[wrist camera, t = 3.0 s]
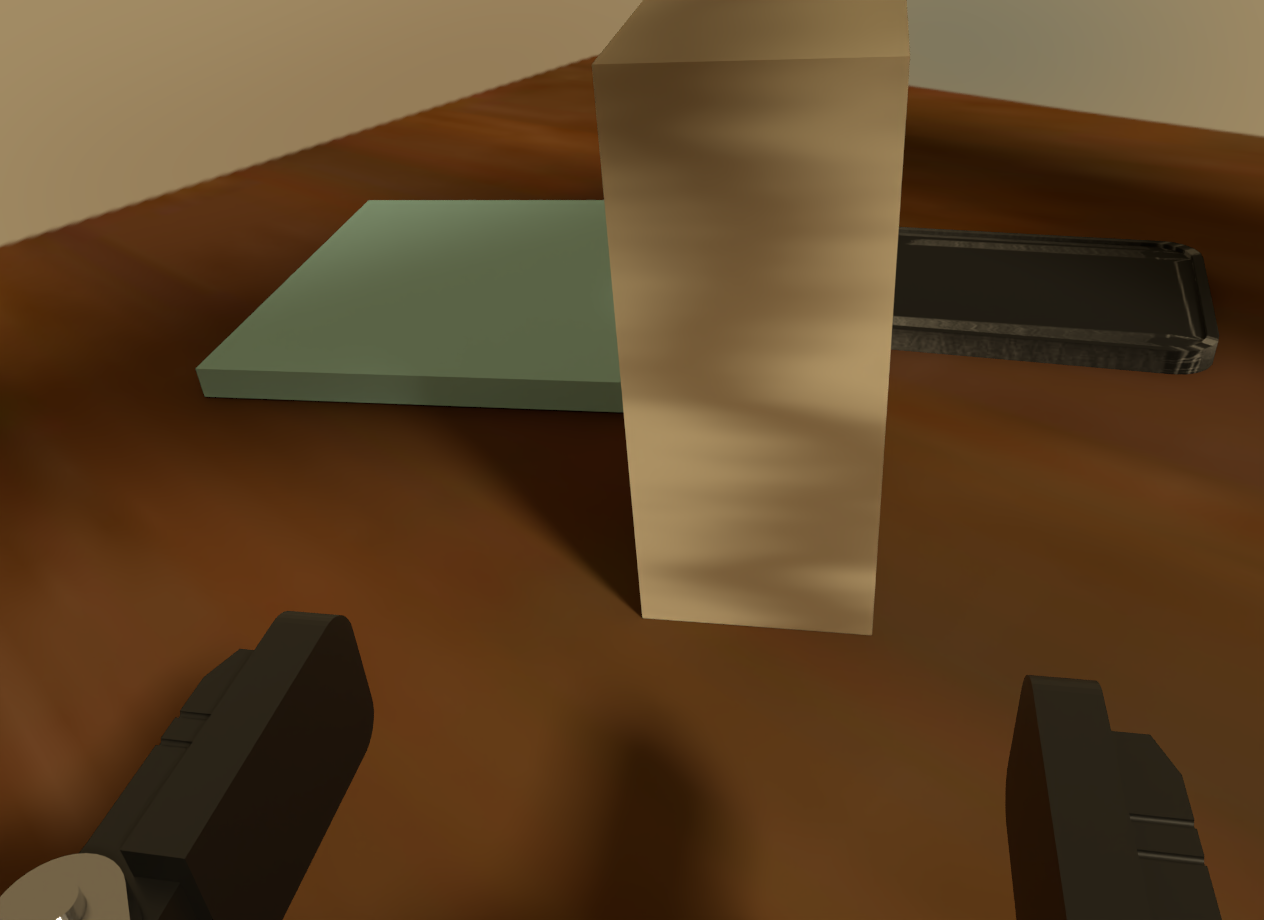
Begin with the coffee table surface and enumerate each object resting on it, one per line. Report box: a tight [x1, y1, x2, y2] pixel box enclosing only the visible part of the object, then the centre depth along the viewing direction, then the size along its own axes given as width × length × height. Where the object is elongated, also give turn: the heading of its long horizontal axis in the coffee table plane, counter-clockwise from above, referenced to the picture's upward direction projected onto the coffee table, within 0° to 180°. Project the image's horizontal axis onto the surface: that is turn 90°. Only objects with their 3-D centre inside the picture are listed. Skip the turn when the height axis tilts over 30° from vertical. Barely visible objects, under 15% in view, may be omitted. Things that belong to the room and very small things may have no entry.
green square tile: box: [195, 200, 624, 412], centre depth 38 cm, size 14×14×1 cm
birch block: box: [592, 0, 910, 635], centre depth 23 cm, size 5×5×12 cm
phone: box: [891, 227, 1219, 374], centre depth 36 cm, size 8×1×15 cm
